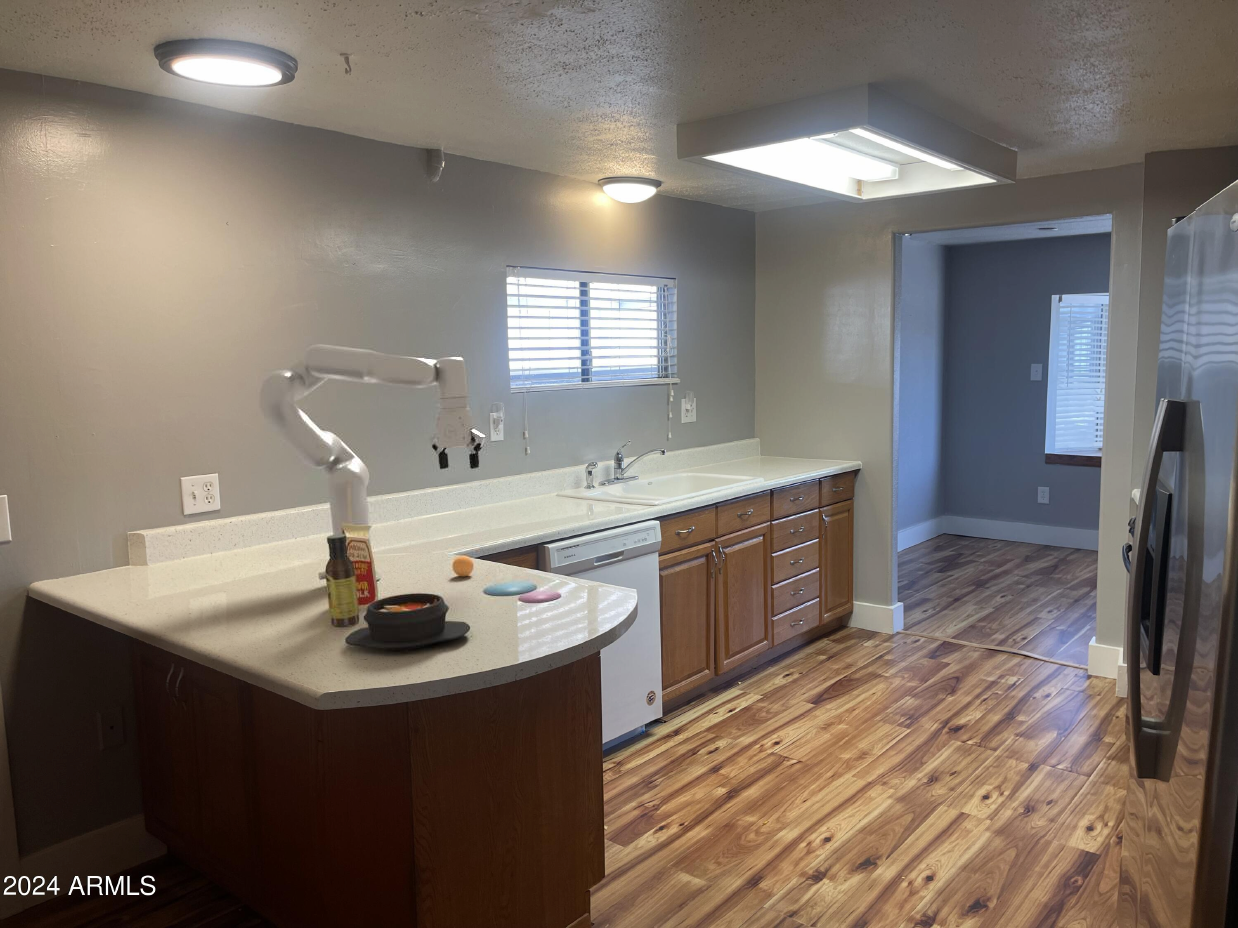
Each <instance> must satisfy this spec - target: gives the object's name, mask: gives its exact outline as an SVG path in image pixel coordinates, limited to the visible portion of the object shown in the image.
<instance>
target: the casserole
mask: <svg viewBox="0 0 1238 928" xmlns="http://www.w3.org/2000/svg"><path fill="white" fill-rule="evenodd" d="M449 610H450V608H449V605H447V604H446V602H445V600H444V598H443V596H441V595H438V594H436V593H425V592H424V593H421V592H419V593H416V592H415V593H414V592H413V593H404V594H397V595H392V596H388V597H384V598H380V599H378V600H377V601H375V602H373V603H371V604H370V605H369V606H368V607H367V609H366V613H365V614H364V615H363V616H362V617H363V621H365V622H366V623H367V627H361V628H358V629H356V630H355V631H353V632H351V633H349V634H348V635H347V636H346V637H345V639H344V642H345V644H347V645H348V646H352V647H353V646H354V647H371V648H376V649H377V648H378V649H382V650H383V649H384V650H390V651H406V649H409V650H415V649H414V648H416V649H421V648H424V647H426V646H429V645H433V644H434V643H439V642H446V641H451V640H456V639H459V638H461V637H463V636H464V635H466V634H468V633H469V632H470V629H471V626H470V624H469V623H467V622H465V621H457V620H456V621H455V620H452V621H451V620H446V617H447V612H448V611H449ZM423 646H424V647H423Z"/></svg>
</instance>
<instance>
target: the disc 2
mask: <svg viewBox="0 0 1238 928" xmlns="http://www.w3.org/2000/svg"><path fill="white" fill-rule="evenodd" d="M561 597H562V593H560V592H559V591H553V590H537V591H536V590H534V591H531V592H527V593H523V594H520V596H518V600H519V601H521V602H522V603H531V604H532V603H535V604H536V603H547V602H553V601H555V600H558V599H559V598H561Z"/></svg>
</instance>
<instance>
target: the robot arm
mask: <svg viewBox="0 0 1238 928" xmlns="http://www.w3.org/2000/svg"><path fill="white" fill-rule="evenodd" d="M329 379H333V380H341V381H350V382H358V383H365V384H384V385H392V386H393V385H394V386H400V387H409V388H419V389H422V388H427V387H431V386H436V385H437V392H438V393H437V394H438V400H436V403H435V405H436V406H437V407H439V410H436V411H437V412H436V418H435V419H436V420H435V434H433V435H432V436H430V437H429V438H428V441H429V443H430V445H431V448H432V449H433V450H434V451H435V454H436V455H438V457H437V458H438V464H439V469H440V470H444V469H448V468H449V467H450V466H449V455H448V453H447V452H446V451H447V450H448V449H449V448H450V449H451V448H465V447H466V448H467V450H468V451H469V452H470V453H469V455H468V458H469V468H470V469H471V470H473V469H477V468H479V467H480V466H479V465H480V457H479V453H480V452H481V450H482V448H483V447H484V443H485V441H486V438H487V437H486V436H485V435H484V434H482V433H480V432H479V431H477V430H476V426H475V422H474V417H473V413H472V410H471V408H469V399H468V397H469V396H468V387H467V375H466V365H465V360H464V359H463V358H462V357H458V356H457V357H456V356H455V357H454V356H453V357H440V358H439V359H428V358H418V357H410V356H401V355H394V354H393V355H392V354H388V353H381V352H378V351H374V350H372V349H371V350H369V349H363V348H354V347H353V348H352V347H346V346H345V347H344V346H339V345H336V346H335V345H330V344H321V343H319V344H313V345H310V346H309V347H308V348H307V349H306V350H305V351H304V354H303V356H302V357H301V358H300V359H298V360H297V361H296V362H295V363H293V364H292V365H290V366H289V367H287V368H286V369H284V370H283V369H281V370H275V371H273V372H271V373H269V374H268V375H267V376H266V377H265V379H264V380H263V381H262V383H261V386H260V389H259V393H258V405H259V410H260V412H261V414H262V416H263V418H264V419H265V421H266V422H267V424H268V425H269V426H270V427H271V428H272V429H273V431H274V432H275V433H276V434H277V435H278V436H279V437H280V438H281V439H282V440H283V441H284V442H285V443H286V445H287V446H289V448H290V449H291V450H292V451H293V452H295V453H296V455H297V456H298V457H299V458H300V459H301V460H302V461H303V462H304V463H305V465H307V466H309V467H310V468H312V469H313V468H314V469H319V470H320V471H321V472H322V473H323V474H324V475H325V476H326V477H327V480H326V490H327V496H328V503H329V508H330V515H331V516H330V517H331V526H332V535H336V534H342V524H341V523H344V524H350V525H356V526H364V525H371V522H370V514H369V513H370V512H369V504H368V497H367V496H368V495H367V487H368V485H369V481H370V473H369V469H368V468H367V465H365V463H364V462H363V461H362V460H361V459H360V458H359V457H358V456H357V455H356V454H355V453H354V452H353V451H352V450H351V449H350V448H349V447H348V446H347V445H346V444H345V442H343V441H342V440H341V439H340V437H338V436H336V435H335V434H334V433H333V432H331V431H328V430H321V429H320V428H319V427H318V426H317V425H316V424H315V423H314V422H313V421H312V420H311V419H310V417H308V415H307V414H306V413H304V412H303V411H302V410H301V409H300V407H298V406H297V404H296V403H295V402H297V401H299V400H301V399H302V398H304V397H305V396H307V395H308V394H309V393H311V392H312V391H314V390H315V389H317V388H318V387H319V386H320V385H322V384H323V383H324V382H326V381H327V380H329ZM476 442H477V443H476ZM371 534H372V533H371V529H370V530H369V540H370V545H371V550H372V551H373V545H372V535H371ZM375 572H376V579H377V581H378V580H380V579H381V573H380V572H379V571H375ZM317 575H318V576H317V577H318V579H319V581H322V580H326V575H325V571H321V572H318V573H317Z"/></svg>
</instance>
